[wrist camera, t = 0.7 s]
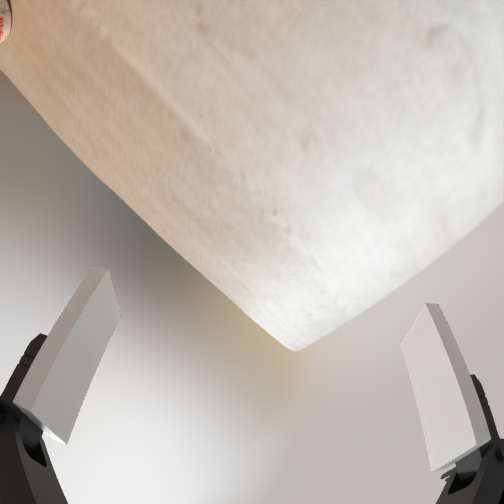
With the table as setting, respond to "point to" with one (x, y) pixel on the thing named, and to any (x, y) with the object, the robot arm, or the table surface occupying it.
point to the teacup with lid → (5, 19)
